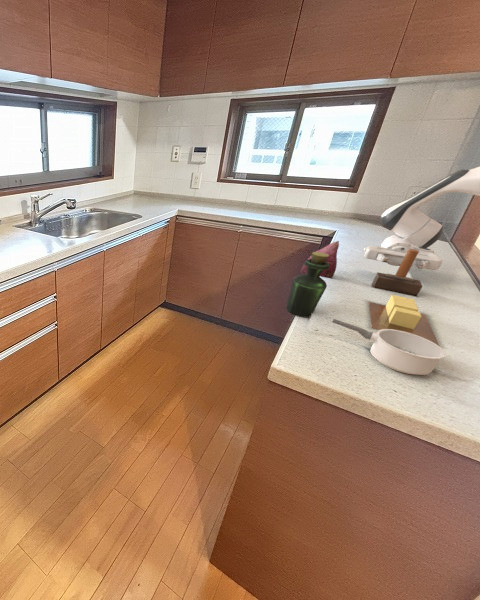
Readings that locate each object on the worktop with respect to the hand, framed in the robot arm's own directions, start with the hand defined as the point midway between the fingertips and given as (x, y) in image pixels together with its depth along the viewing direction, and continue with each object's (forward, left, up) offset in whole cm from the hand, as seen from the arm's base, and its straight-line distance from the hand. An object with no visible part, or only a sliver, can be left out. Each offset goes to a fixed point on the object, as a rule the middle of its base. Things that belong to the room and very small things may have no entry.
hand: (402, 263), depth 111 cm
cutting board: (+1, +35, -9) cm, 36 cm away
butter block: (+1, +30, -7) cm, 31 cm away
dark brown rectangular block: (0, +6, -9) cm, 11 cm away
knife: (0, +6, -9) cm, 11 cm away
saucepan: (+7, +57, -9) cm, 58 cm away
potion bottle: (+24, +44, -9) cm, 51 cm away
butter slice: (+1, +37, -7) cm, 38 cm away
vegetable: (+22, +4, -9) cm, 24 cm away
